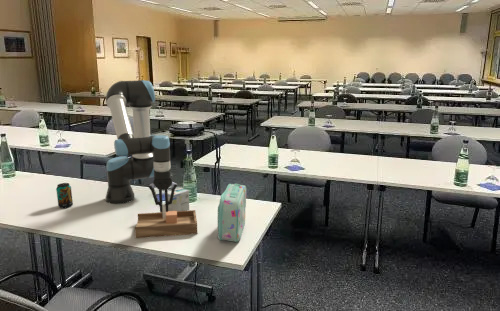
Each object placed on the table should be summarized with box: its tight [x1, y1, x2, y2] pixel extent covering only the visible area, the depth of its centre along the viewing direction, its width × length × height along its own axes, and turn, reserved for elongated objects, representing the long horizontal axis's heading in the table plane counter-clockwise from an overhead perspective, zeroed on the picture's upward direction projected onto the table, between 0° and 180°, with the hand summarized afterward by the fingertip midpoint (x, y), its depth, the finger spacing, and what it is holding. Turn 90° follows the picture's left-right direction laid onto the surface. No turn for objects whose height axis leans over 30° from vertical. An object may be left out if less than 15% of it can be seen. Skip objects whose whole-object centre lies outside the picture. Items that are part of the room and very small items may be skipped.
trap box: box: [134, 209, 198, 239], centre depth 184 cm, size 16×27×5 cm, turn 101°
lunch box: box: [217, 183, 247, 243], centre depth 179 cm, size 27×10×21 cm, turn 174°
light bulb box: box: [168, 187, 190, 211], centre depth 204 cm, size 11×7×11 cm, turn 134°
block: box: [166, 211, 177, 223], centre depth 187 cm, size 5×5×4 cm
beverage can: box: [55, 182, 74, 209], centre depth 209 cm, size 7×7×12 cm
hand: (164, 218), depth 186 cm, fingers closed
